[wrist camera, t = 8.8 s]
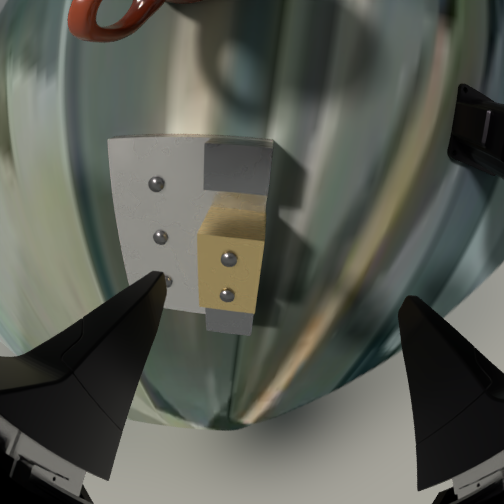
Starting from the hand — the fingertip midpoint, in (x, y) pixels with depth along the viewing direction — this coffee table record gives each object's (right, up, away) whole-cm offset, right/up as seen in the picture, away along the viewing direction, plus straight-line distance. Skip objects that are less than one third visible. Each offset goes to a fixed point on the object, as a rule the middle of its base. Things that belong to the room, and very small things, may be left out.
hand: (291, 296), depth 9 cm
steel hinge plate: (-7, +3, +13) cm, 15 cm away
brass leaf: (-3, +2, +12) cm, 12 cm away
